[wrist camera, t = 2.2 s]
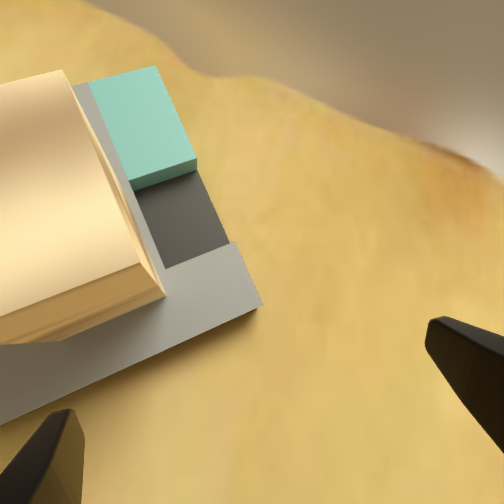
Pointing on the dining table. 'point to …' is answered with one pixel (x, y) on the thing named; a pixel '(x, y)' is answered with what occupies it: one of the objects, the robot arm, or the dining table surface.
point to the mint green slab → (144, 127)
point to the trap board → (153, 314)
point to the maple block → (62, 220)
